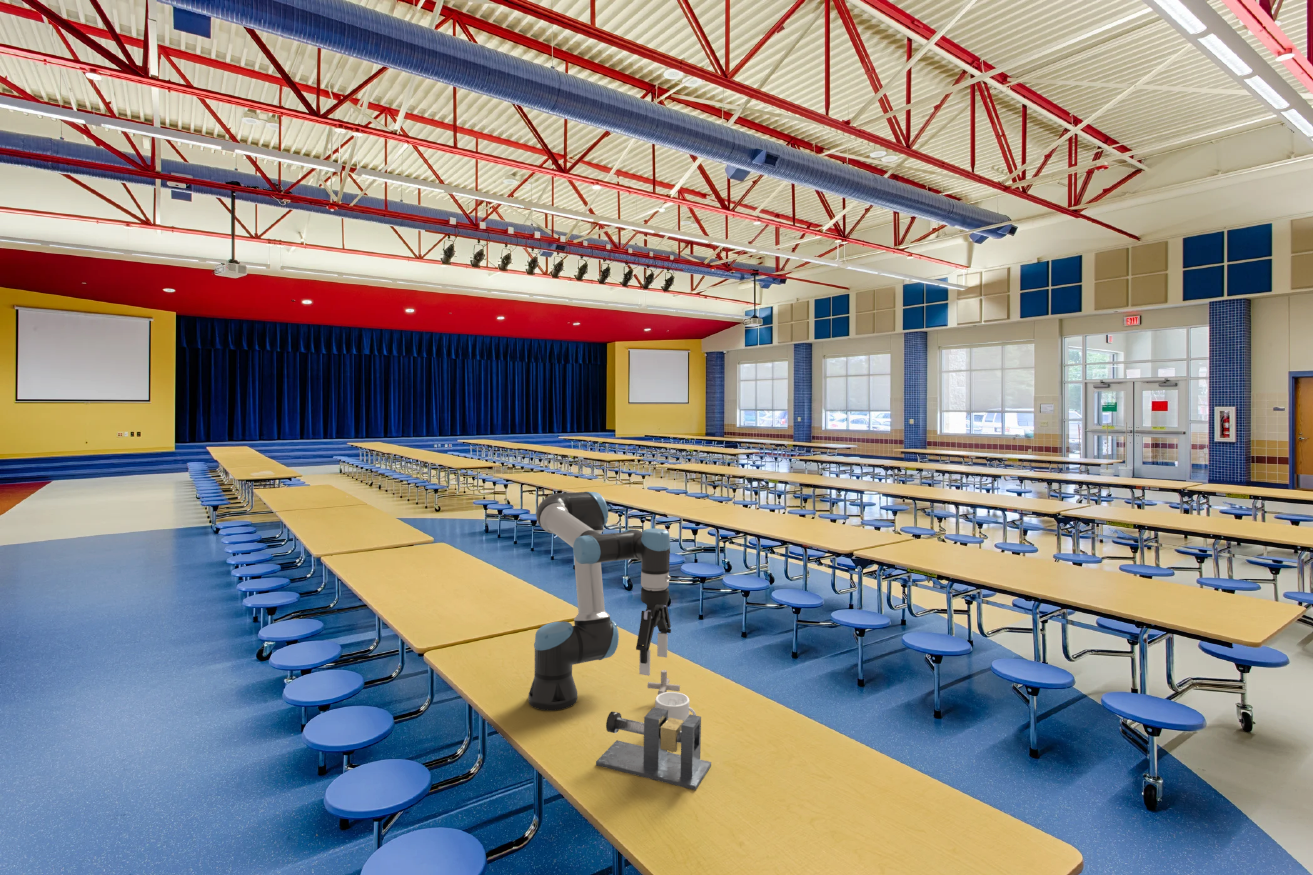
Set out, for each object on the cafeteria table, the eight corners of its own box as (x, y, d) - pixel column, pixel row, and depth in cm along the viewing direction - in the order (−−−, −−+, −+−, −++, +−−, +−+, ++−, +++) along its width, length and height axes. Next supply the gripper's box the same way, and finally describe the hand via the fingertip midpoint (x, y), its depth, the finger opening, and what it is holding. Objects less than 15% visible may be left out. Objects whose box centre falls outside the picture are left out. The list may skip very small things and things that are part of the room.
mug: (701, 725, 190) (701, 694, 190) (691, 742, 180) (691, 709, 180) (662, 718, 194) (662, 688, 194) (650, 734, 184) (650, 702, 184)
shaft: (606, 734, 170) (606, 716, 170) (614, 726, 175) (614, 708, 175) (689, 754, 162) (689, 734, 161) (696, 744, 166) (696, 725, 166)
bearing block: (595, 765, 168) (596, 712, 167) (616, 743, 179) (617, 694, 178) (695, 790, 157) (696, 734, 157) (711, 765, 168) (712, 713, 168)
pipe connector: (676, 711, 199) (677, 678, 199) (644, 707, 201) (644, 675, 201) (681, 697, 209) (682, 666, 208) (651, 694, 211) (651, 663, 210)
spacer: (660, 748, 164) (660, 727, 164) (669, 738, 169) (669, 717, 169) (675, 752, 163) (675, 730, 162) (683, 741, 168) (684, 720, 168)
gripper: (651, 600, 163) (650, 684, 164) (682, 577, 187) (681, 651, 187) (624, 597, 166) (622, 680, 167) (657, 575, 189) (656, 647, 190)
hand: (653, 665), depth 177 cm, fingers open, 13 cm apart
